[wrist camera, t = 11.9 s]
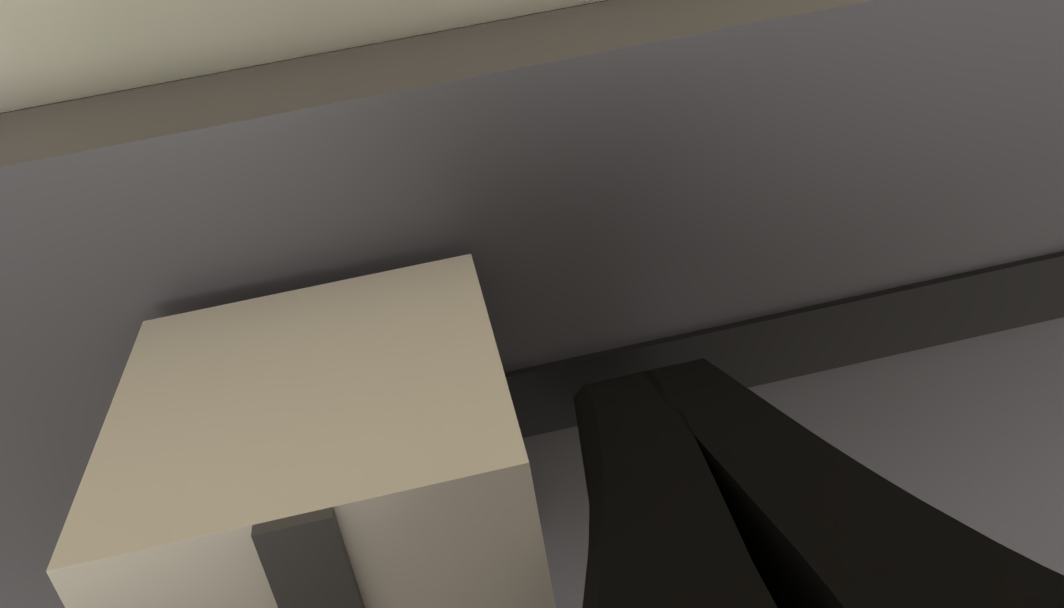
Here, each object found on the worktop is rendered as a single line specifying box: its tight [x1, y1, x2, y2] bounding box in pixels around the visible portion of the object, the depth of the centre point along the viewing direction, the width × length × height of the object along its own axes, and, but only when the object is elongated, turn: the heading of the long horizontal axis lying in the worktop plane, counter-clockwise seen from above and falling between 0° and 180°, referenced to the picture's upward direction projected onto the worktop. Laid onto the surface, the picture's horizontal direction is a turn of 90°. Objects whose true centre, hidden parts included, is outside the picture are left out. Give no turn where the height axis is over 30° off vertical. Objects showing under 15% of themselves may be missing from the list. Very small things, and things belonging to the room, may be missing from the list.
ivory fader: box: [46, 254, 556, 608], centre depth 8 cm, size 4×3×3 cm
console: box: [0, 0, 1064, 608], centre depth 14 cm, size 16×24×2 cm, turn 98°
